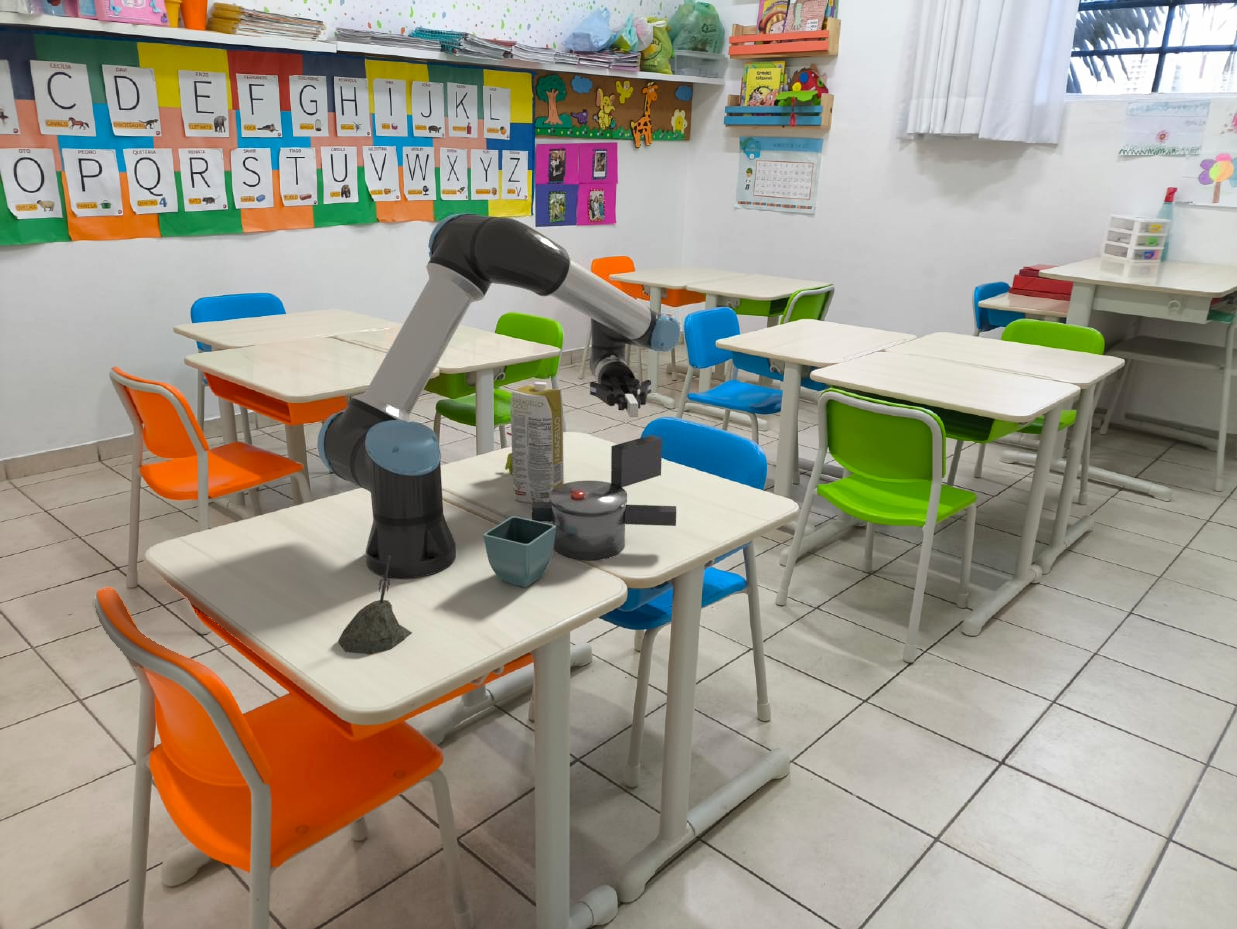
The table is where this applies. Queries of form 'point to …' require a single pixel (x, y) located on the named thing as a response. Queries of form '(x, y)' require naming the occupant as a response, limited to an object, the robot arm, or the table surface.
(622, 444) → the lid
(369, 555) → the robot arm
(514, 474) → the juice carton
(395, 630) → the sword in stone
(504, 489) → the table surface
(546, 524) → the flower pot
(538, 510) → the pot
